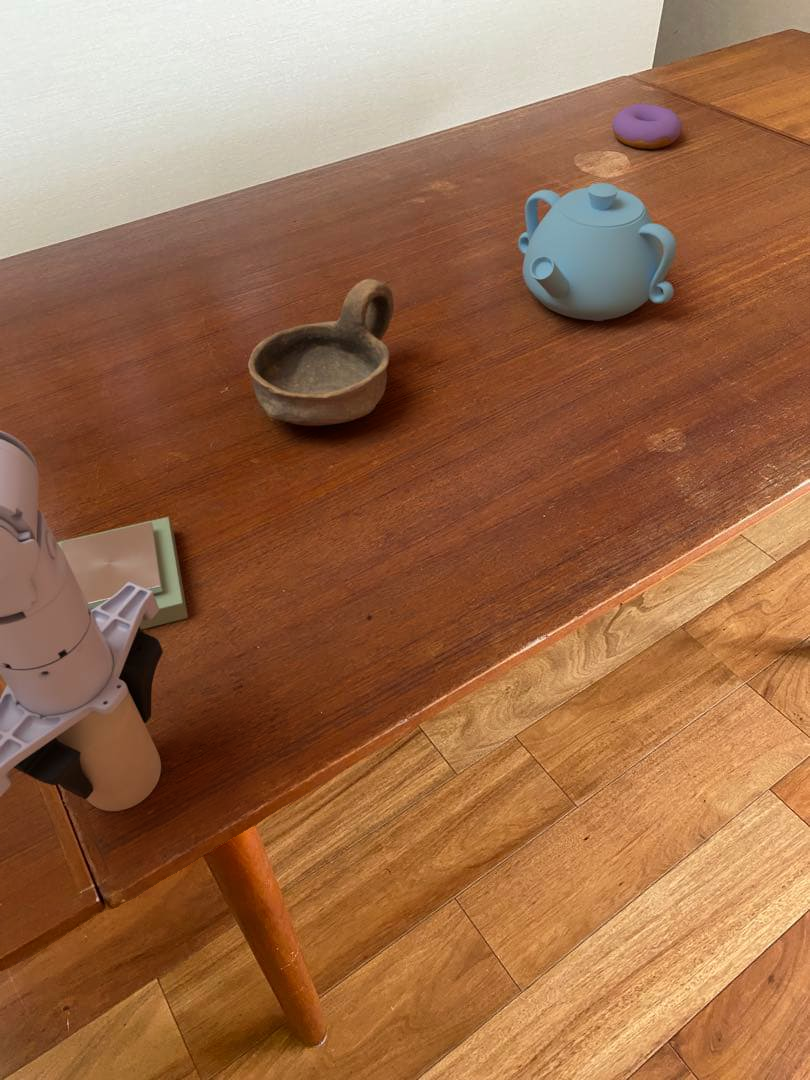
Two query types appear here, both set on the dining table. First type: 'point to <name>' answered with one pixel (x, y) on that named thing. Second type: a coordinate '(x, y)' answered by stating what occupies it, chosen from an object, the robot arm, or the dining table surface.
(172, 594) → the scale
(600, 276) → the teapot
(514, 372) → the dining table surface
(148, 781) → the candle
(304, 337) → the bowl
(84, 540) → the thin square metal plate
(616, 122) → the donut
